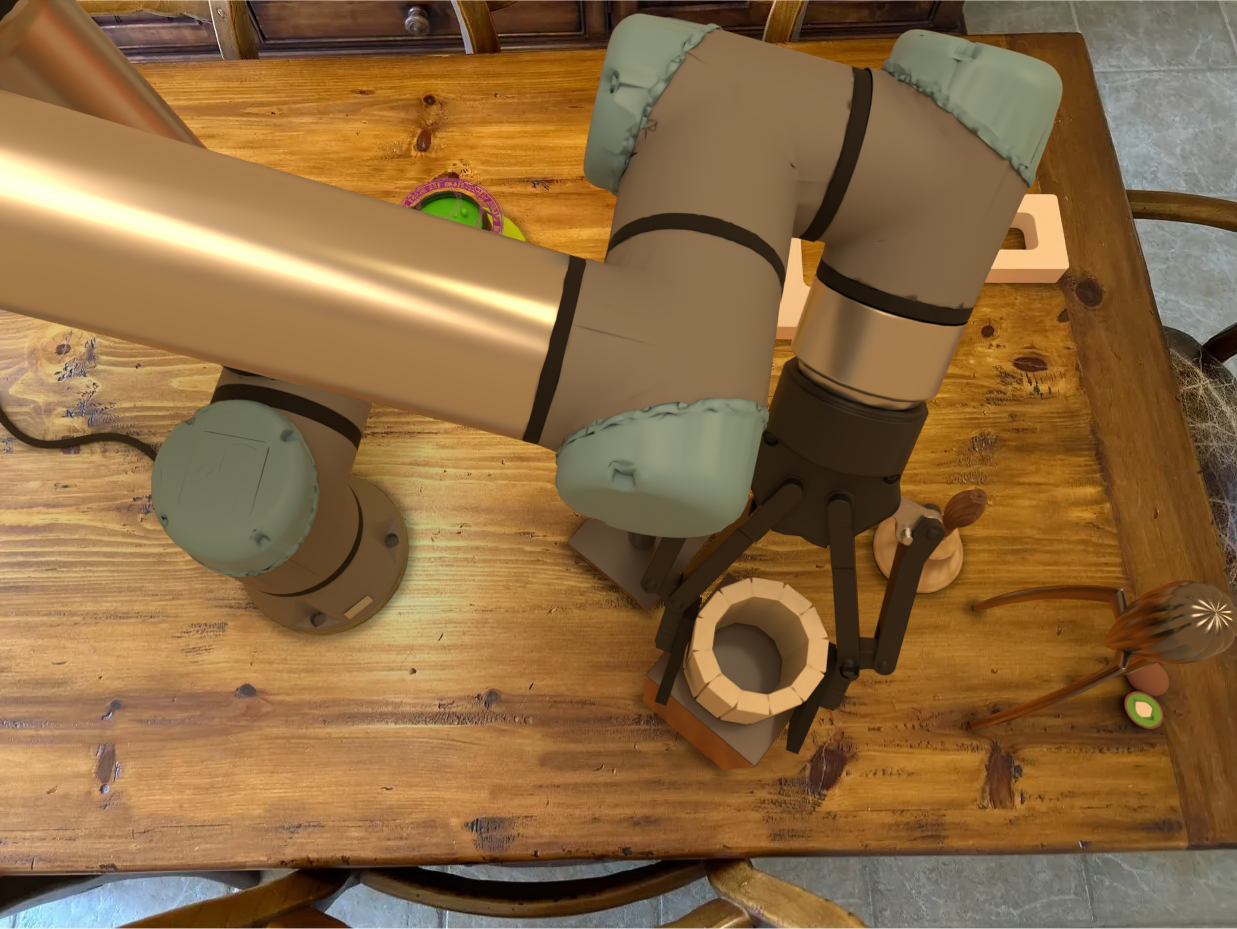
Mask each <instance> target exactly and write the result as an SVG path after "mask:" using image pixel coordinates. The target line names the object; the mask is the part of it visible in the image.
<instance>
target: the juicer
mask: <svg viewBox="0 0 1237 929" xmlns="http://www.w3.org/2000/svg"><path fill="white" fill-rule="evenodd" d="M1050 600H1051V601H1052V600H1053V601H1055V600H1060V601H1061V600H1067V601H1068V600H1069V601H1070V600H1071V601H1073V600H1074V601H1085V602H1086V601H1087V602H1088V601H1089V602H1096V603H1097V602H1098V603H1106V604H1110V608H1111V611H1112V616H1113V619H1114V623H1113V624H1112V625H1111V627H1110V629H1109V631H1108V632H1107V634H1106V636H1105V638H1104V639H1103V641H1102V644H1101V645H1102V646H1104V647H1106V648H1108V649H1110V650H1112V651H1114V654H1113V656H1112V660H1111V662H1110V663H1109V664H1108V665H1105V666H1104V667H1101V668H1100V669H1097V670H1096V671H1094V672H1092V673H1088V674H1085V675H1082V676H1078V677H1076V678H1074V679H1073V682H1071V683H1070V684H1067V685H1065V686H1063V687H1060V688H1058V689H1056V690H1053V691H1051V692H1049V693H1046V694H1044V695H1042V696H1039V697H1037V698H1034V699H1031V700H1029V701H1026V702H1023V703H1020V704H1017V705H1016V706H1012V707H1010V708H1007V709H1004V710H1001V711H999V712H996V713H992V714H989V715H986V716H984V717H980V718H976V719H974V720H970V721H969V722H968V727H969V728H970V729H971V730H977V729H985V728H988V727H993V726H997V725H1001V724H1006V723H1009V722H1011V721H1015V720H1019V719H1021V718H1025V717H1029V716H1030V715H1033V714H1036V713H1039V712H1041V711H1044V710H1046V709H1049V708H1051V707H1054V706H1056V705H1058V704H1061V703H1063V702H1065V701H1067V700H1070V699H1072V698H1075V697H1076V696H1078V695H1081V694H1082V693H1084V692H1087V691H1089V690H1091V689H1093V688H1095V687H1098V686H1099V685H1101V684H1103V683H1106V682H1107V681H1110V680H1112V679H1115V678H1120V677H1122V676H1126V674H1129V673H1132V672H1135V671H1138V670H1140V669H1143V668H1146V667H1148V666H1151V665H1153V664H1155V663H1158V664H1159V663H1162V664H1169V665H1187V664H1193V663H1198V662H1202V661H1205V660H1207V659H1209V658H1211V657H1214V656H1217V655H1219V654H1222V653H1223V652H1225V651H1227V650H1228V649H1229V648H1230V647H1231V646H1232V645H1233V644H1234V641H1235V638H1236V637H1237V607H1236V606H1235V604H1234V601H1233V599H1232V597H1230V595H1228V594H1227V593H1225V592H1224V591H1222V590H1220V588H1218V587H1217V586H1215V585H1214V584H1211V583H1208V582H1204V581H1203V582H1202V581H1200V582H1199V581H1196V580H1191V579H1187V580H1186V579H1184V580H1176V581H1171V582H1168V583H1165V584H1163V585H1160V586H1158V587H1156V588H1155V587H1154V588H1153V589H1149V590H1148V591H1146V592H1144V593H1142V594H1141V595H1140V596H1138V597H1136V598H1135V599H1134V600H1133V601H1132V602H1131V603H1128V599H1127V595H1126V591H1125V589H1124V587H1122V586H1114V585H1102V584H1056V585H1055V584H1054V585H1044V586H1036V587H1031V588H1030V587H1029V588H1028V587H1027V588H1024V589H1018V590H1013V591H1009V592H1005V593H1003V594H998V595H994V596H992V597H989V598H987V599H984V600H982V601H979V602H977V603H974V604H973V606H972V610H973V611H974V612H975V613H979V612H982V611H986V610H990V609H993V608H998V607H1003V606H1008V605H1013V604H1018V603H1026V602H1036V601H1050ZM1131 656H1132V657H1135V658H1134V659H1131V660H1129V659H1130V657H1131Z"/></svg>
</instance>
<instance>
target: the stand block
mask: <svg viewBox="0 0 1237 929" xmlns="http://www.w3.org/2000/svg"><path fill="white" fill-rule="evenodd" d="M739 581H741V580H740V579H739V578H737V576H735V575H734V574H733V573H731V572H729V571H727V573H726V574H725V575H724V577H723V578H722V579H721V580H720V582H719V583H718V584H717V585H716V586H715V587H714V589H713V590H712V592H711V593H709V596H708V597H707V598H706V599H705V600H704V601H703V603H701V605H700V608H699V611H698V614H699V613H700V611H701V610H702V609H703V608H704V606H705V605H706V604H707V603H708V601H709V600H710V599H711V598H712V596H713V595H714V594H715V593H716V591H720V589H721V588H722V587H725V586H728V585H730V584H733V583H736V582H739ZM697 616H698V615H697ZM712 650H713V652H714V655H715V657H716V660H717V662H718V665H719V667H720V670H721V672H722V674H723V675H724V676H726V677H727V678H728V679H729V680H731V681H732V682H733V683H734V684H735V685H737V686H738V687H739V688H740V689H741V690H745V691H751V692H756V693H762V694H770V693H772V692H773V690H774V689H775V688H776V686H777V685H778V684H779V682H780V678H781V669H782V657H781V655H780V653H779V650H778V648H777V646H776V643H775V641H774V639H773V638H771V637H770V636H769V635H768V634H766V633H765V632H764V631H763V630H761V629H760V628H759V627H758V626H754V625H748V624H742V623H736V622H735V623H733V624H730V625H727V626H725V627H722V628H719V629H717V630H716V631H715V633H714V640H713V647H712ZM670 654H671V653H669V652H666V651H663V653H662V654H661V655H660V656H659V658H658V659H657V660H656V661H655V662H654V663H653V665H652V666H651V667H650V669H649V670H648V671H647V672H646V674H645V679H644V680H645V681H644V689H643V697H642V698H643V700H642V703H643V704H644V705H645V706H646V707H648V708H649V709H650V710H651V711H653V712H654V713H655V714H656V715H657V716H658V717H660V719H661V720H663V721H664V722H665V723H667V724H668V725H669V726H670V727H671V728H673V729H674V730H675V731H676V732H677V733H678V734H680V735H681V737H683V738H684V739H685V740H687V741H688V742H689V743H690V744H691V745H692V746H693V747H694V748H696V749H697V750H698V751H700V752H701V753H702V754H703V755H704V756H705V757H706V758H708V759H709V760H710V761H711V762H712V763H714V764H715V765H716V766H717V767H718V768H719V769H720V770H722V771H725V770H726V771H727V770H738V769H749V768H756V767H758V765H759V763H760V762H761V761H762V759H763V758H764V757H765V755H766V754H767V752H769V750H770V749H771V747H772V745H773V744H774V743H775V742H776V740H777V739H778V738H779V736H781V734H782V733H783V731H784V730H785V728H786V727H787V725H789V720H790V718H791V716H792V713H793V711H794V709H795V707H793V708H791V709H788V710H786V711H784V712H781V713H779V714H776V715H774V716H771V717H769V718H766V719H764V720H761V721H758V722H756V723H753V724H751V723H749V724H742V723H736V722H730V721H725V720H721V719H720V717H721V716H720V717H718V718H716V717H715V716H714V715H713V714H712V713H710V712H709V711H708V710H707V709H706V708H704V707H703V706H702V705H701V704H700V703H698V702H697V701H696V698H697V697H698V696H696V697H693V695H692V692H691V689H690V687H689V684H688V682H687V679H686V676H685V674H684V669H685V668H683V664H684V657H685V653H684V656H683V659H682V662H681V665H680V668H679V670H678V673H677V676H676V679H675V682H674V685H673V688H672V691H671V694H670V697H669V699H668V702H667V705H666V706H665V705H662V704H660V703H657V702H655V699H656V696H657V693H658V690H659V687H660V684H661V681H662V678H663V675H664V672H665V669H666V666H667V663H668V660H669V657H670Z"/></svg>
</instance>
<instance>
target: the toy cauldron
mask: <svg viewBox="0 0 1237 929" xmlns="http://www.w3.org/2000/svg"><path fill="white" fill-rule="evenodd" d="M441 189H445V190H441ZM447 189H448V190H447ZM457 189H460V190H463V191H468V192H470V193H472V194H474V195H475V197H476V199H477V200H478V202H477V201H476V199H474V197H473V196H470V195H469V194H467V193H464V192H462V191H459V190H457ZM437 190H441V191H437ZM433 191H435V192H433ZM431 192H432V193H431ZM428 193H430V194H428ZM426 194H428V195H426ZM424 195H426V196H424ZM423 196H424V197H423ZM422 197H423V198H422ZM495 197H496V196H495V195H494V193H492V191H491V190H489V189H487V188H485V187H484V185H483V184H478V183H476V182H474V181H471V180H466V179H462V178H459V179H458V178H454V177H441V178H440V177H439V178H436V179H430V180H427V181H425V182H423V183H421V184H419V185H418V186H416V187H415V188H414V189H413V190H411V191H410V192H409V193H408V194H406V195H405V196H404V197H403V198H402V201H400V202H399V203H398V205H401V206H404V207H408V208H411V209H415V210H418V211H422V212H425V213H429V214H432V215H435V216H439V217H442V218H446V219H449V220H453V221H456V222H460V223H463V224H467V225H470V226H473V227H477V228H480V229H484V230H487V231H491V232H494V233H498V234H501V235H504V236H508V237H511V238H515V239H518V240H522V241H525V242H527V241H526V238H525V237H524V235H523V233H522V232H521V230H520V228H519V227H518V226H516V225H515V223H514V222H512V220H511V219H509V218H508V217H506V215H505V214H504V213H505V212H504V209H503V206H502V204H501V203H500V201H499V198H495ZM414 202H416V203H415V204H414V205H413V203H414ZM482 202H484V204H485V205H486V206H487V207H485V206H483V204H482Z"/></svg>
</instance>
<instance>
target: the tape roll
mask: <svg viewBox="0 0 1237 929" xmlns="http://www.w3.org/2000/svg"><path fill="white" fill-rule="evenodd" d="M735 622H736V623H742V624H748V625H754V626H758V627H759V628H760V629H761V630H763V631H764V632H765V633H766V634H768V635H769V636H770V637H771V638H773V639H774V641H775V643H776V646H777V648H778V650H779V653H780V655H781V657H782V669H781V678H780V682H779V684H778V685H777V686H776V688H775V689H774V690H773V692H772V693H770V694H762V693H756V692H751V691H745V690H741V689H740V688H739V687H738V686H737V685H735V684H734V683H733V682H732V681H731V680H729V679H728V678H727V677H726V676H724V675H723V674H722V672H721V670H720V667H719V665H718V662H717V660H716V657H715V655H714V652H713V650H712V647H713V640H714V633H715V631H716V630H717V629H719V628H722V627H725V626H727V625H730V624H733V623H735ZM828 637H829V636H828V633H827V630H826V628H825V626H824V624H823V622H822V619H821V617H820V615H819V612H818V610H817V608H816V607H815V606H813V603H812V602H811V601H810V600H809V599H808V598H806V597H805V596H804V595H802V593H800V592H798V591H797V590H796V589H795V588H793V587H792V586H790V585H789V584H788V583H786V584H785V583H784V582H783V581H778V580H772V579H766V578H762V577H761V578H760V577H756V576H755V577H754V576H753V577H752V578H751V579H750V577H746V578H743V579H741V580H740V581H739V582H736V583H733V584H730V585H728V586H725V587H722V588H721V589H720V591H716V593H715V594H714V595H713V596H712V598H711V599H710V600H709V601H708V603H707V604H706V605H705V606H704V608H703V609H702V610H701V611H700V613H699V614H698V616H697V618H696V621H695V624H694V627H693V630H692V633H691V636H690V639H689V641H688V644H687V647H686V650H685V657H684V664H683V668H685V669H684V674H685V676H686V679H687V682H688V684H689V687H690V689H691V692H692V695H693V697H696V696H698V697H697V698H696V701H697V702H698V703H700V704H701V705H702V706H703V707H704V708H706V709H707V710H708V711H709V712H710V713H712V714H713V715H714V716H715V717H716V718H718V717H720V716H721V717H720V719H721V720H725V721H730V722H736V723H742V724H749V723H751V724H753V723H756V722H758V721H761V720H764V719H766V718H769V717H771V716H774V715H776V714H779V713H781V712H784V711H786V710H788V709H791V708H793V707H796V706H798V705H800V704H802V702H804V701H806V700H807V699H808V697H809V696H810V695H811V693H812V692H813V691H814V689H815V688H816V687H817V685H818V684H819V682H820V681H821V680H822V678H823V677H824V675H823V673H825V672H826V665H827V654H828V643H829V642H830V641H829V639H827V638H828Z"/></svg>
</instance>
